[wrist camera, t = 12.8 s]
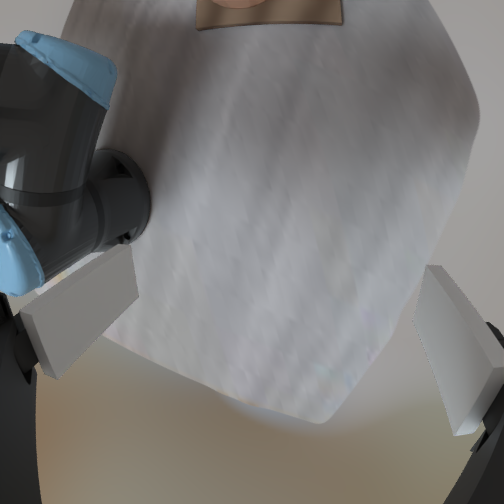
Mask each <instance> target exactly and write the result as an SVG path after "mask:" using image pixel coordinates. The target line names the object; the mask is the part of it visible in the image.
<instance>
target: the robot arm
mask: <svg viewBox="0 0 504 504" xmlns="http://www.w3.org/2000/svg"><path fill="white" fill-rule="evenodd" d="M15 43H16V44H3V43H0V291H2V292H3V293H1V292H0V504H42V502H41V495H40V487H39V478H38V467H37V453H36V423H35V413H36V411H35V410H36V382H37V372H36V370H35V368H34V366H35V365H36V364H37V363H38V362H39V363H40V365H41V368H42V369H43V372H44V374H46V375H48V376H50V377H52V378H55V379H57V380H58V379H59V378H60V377H61V376H62V375H63V374H64V373H65V372H66V371H67V370H68V368H69V367H70V366H71V365H72V364H73V363H74V362H75V361H76V360H77V359H78V358H79V357H80V356H81V355H82V354H83V353H84V352H85V351H86V350H87V348H89V347H90V345H92V343H93V342H94V341H95V340H96V339H97V338H98V337H99V336H100V335H101V334H102V333H103V332H104V331H105V330H106V329H107V328H108V327H109V326H110V325H111V324H112V323H113V322H114V321H115V320H116V319H117V318H118V317H119V316H120V315H121V314H122V313H123V312H124V311H125V310H126V309H127V308H128V307H129V306H130V305H131V304H132V303H133V302H134V301H135V300H136V299H137V298H138V297H139V294H138V288H137V282H136V276H135V270H134V263H133V256H132V249H131V245H128V244H130V243H131V242H133V241H134V240H136V239H137V238H138V237H139V236H140V234H141V233H142V231H143V230H144V228H145V226H146V224H147V221H148V217H149V212H150V195H149V190H148V186H147V183H146V180H145V177H144V175H143V173H142V172H141V170H140V168H139V167H138V166H137V164H136V163H135V162H134V161H133V160H132V159H131V158H129V157H128V156H127V155H125V154H123V153H121V152H119V151H116V150H110V149H105V150H98V151H95V147H96V143H97V140H98V136H99V133H100V130H101V126H102V123H103V120H104V117H105V115H106V112H107V110H109V107H110V105H109V102H110V98H111V95H112V92H113V88H114V85H115V82H116V79H117V69H116V66H115V64H114V63H113V62H112V61H111V60H110V59H108V58H107V57H105V56H103V55H101V54H99V53H96V52H94V51H92V50H89V49H87V48H84V47H82V46H79V45H77V44H74V43H71V42H68V41H65V40H62V39H59V38H56V37H52V36H49V35H44V34H39V33H36V32H33V31H28V30H27V31H26V30H25V31H22V32H21V33H20V34H19V36H17V37H16V38H15ZM95 252H104V253H103V254H101V255H100V256H98V257H97V258H95V259H93V260H92V261H90V262H89V263H87V264H86V265H84V266H83V267H81V268H80V269H78V270H77V271H75V272H74V273H72V274H71V275H69V276H68V277H66V278H65V279H63V280H62V281H60V282H59V283H57V284H56V285H54V286H53V287H51V288H50V289H49V290H47V291H46V292H44V293H43V294H41V295H40V296H39V297H38V298H36V299H34V300H33V301H32V302H30V303H29V304H27V305H26V306H25V307H23V308H22V309H20V310H19V313H18V314H16V315H15V316H13V314H12V311H11V308H10V305H9V302H8V299H7V296H6V295H5V293H6V294H7V295H10V296H14V297H18V296H22V295H24V294H27V293H28V292H30V291H32V290H34V289H35V288H40V287H42V286H43V285H44V284H45V283H46V282H48V281H49V280H51V279H52V278H53V277H55V276H56V275H58V274H59V273H61V272H62V271H64V270H65V269H67V268H68V267H70V266H71V265H73V264H74V263H76V262H78V261H79V260H81V259H82V258H84V257H85V256H87V255H88V254H90V253H95ZM413 323H414V326H415V328H416V330H417V333H418V335H419V337H420V340H421V343H422V345H423V348H424V350H425V353H426V355H427V357H428V360H429V363H430V366H431V368H432V371H433V374H434V376H435V379H436V382H437V385H438V388H439V390H440V393H441V396H442V399H443V402H444V405H445V409H446V411H447V415H448V418H449V421H450V424H451V428H452V431H453V435H454V436H457V435H464V434H470V433H474V432H475V430H476V429H477V427H478V426H479V424H480V423H481V421H482V420H483V423H484V426H485V428H486V430H485V431H484V432H483V434H482V435H481V436H480V438H479V439H478V440H477V442H476V443H475V444H474V446H473V447H472V449H471V450H470V451H472V452H473V453H472V455H471V457H470V459H469V461H468V462H467V465H466V466H465V468H464V470H463V472H462V473H461V476H460V477H459V479H458V481H457V482H456V484H455V486H454V487H453V489H452V490H451V492H450V494H449V495H448V497H447V498H446V500H445V502H444V503H443V504H504V337H503V335H502V334H501V332H500V331H499V330H498V329H497V328H496V327H494V326H493V325H492V324H491V323H489V322H485V321H484V320H483V318H482V317H481V316H480V314H479V313H478V312H477V310H476V309H475V308H474V306H473V305H472V304H471V302H470V301H469V300H468V298H467V297H466V296H465V294H464V293H463V292H462V291H461V289H460V288H459V287H458V286H457V284H456V283H455V282H454V280H453V279H452V278H451V277H450V276H449V274H448V273H447V272H446V271H445V269H444V268H443V267H442V266H438V265H426V267H425V272H424V276H423V281H422V285H421V290H420V294H419V298H418V302H417V306H416V310H415V314H414V317H413ZM473 450H474V451H473Z"/></svg>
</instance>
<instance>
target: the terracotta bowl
mask: <svg viewBox="0 0 504 504" xmlns="http://www.w3.org/2000/svg"><path fill="white" fill-rule="evenodd" d="M212 1H213V2H214V3H217V4H218V5H220V6H223V7H226V8H231V9H244V8H250V7H253V6H256V5H259V4H261V3H263V2H265V1H266V0H212Z"/></svg>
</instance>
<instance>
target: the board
mask: <svg viewBox="0 0 504 504" xmlns="http://www.w3.org/2000/svg"><path fill="white" fill-rule="evenodd" d="M262 24H325V25H342V18H341V5H340V0H266V1H265V2H263V3H261V4H259V5H256V6H253V7H250V8H244V9H231V8H226V7H223V6H220V5H218V4H217V3H214V2H213V1H212V0H197V6H196V29H197V30H198V31H200V30H207V29H215V28H224V27H234V26H246V25H262Z"/></svg>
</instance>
